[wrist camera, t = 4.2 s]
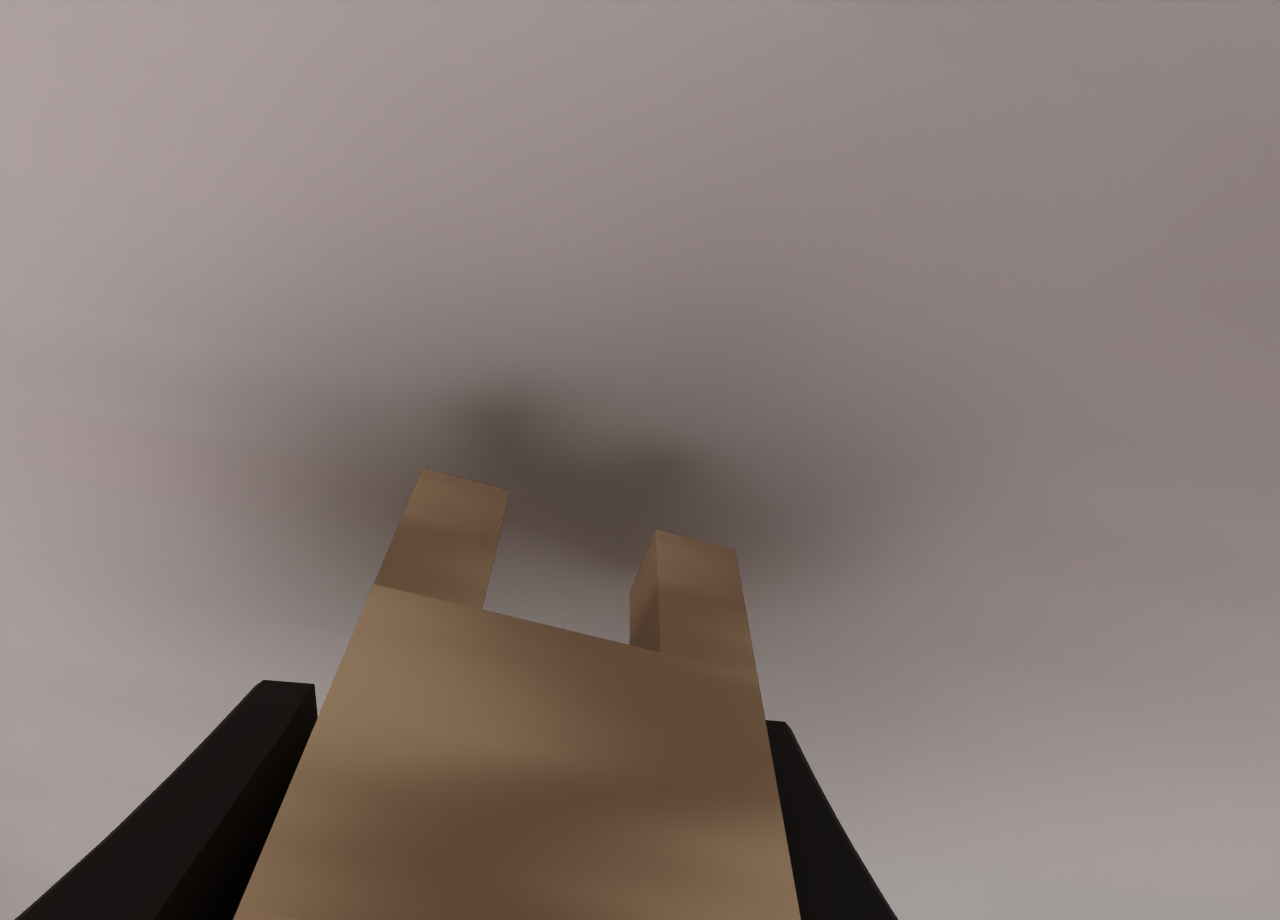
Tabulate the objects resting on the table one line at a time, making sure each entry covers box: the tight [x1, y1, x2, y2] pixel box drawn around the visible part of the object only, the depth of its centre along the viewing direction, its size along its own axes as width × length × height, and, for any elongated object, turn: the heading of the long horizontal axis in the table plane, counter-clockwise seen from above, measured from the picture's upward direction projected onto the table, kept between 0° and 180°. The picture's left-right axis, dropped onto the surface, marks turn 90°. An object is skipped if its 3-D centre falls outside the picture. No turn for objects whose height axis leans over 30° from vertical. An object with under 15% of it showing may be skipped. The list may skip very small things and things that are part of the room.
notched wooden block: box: [233, 468, 801, 920], centre depth 10 cm, size 4×4×7 cm
